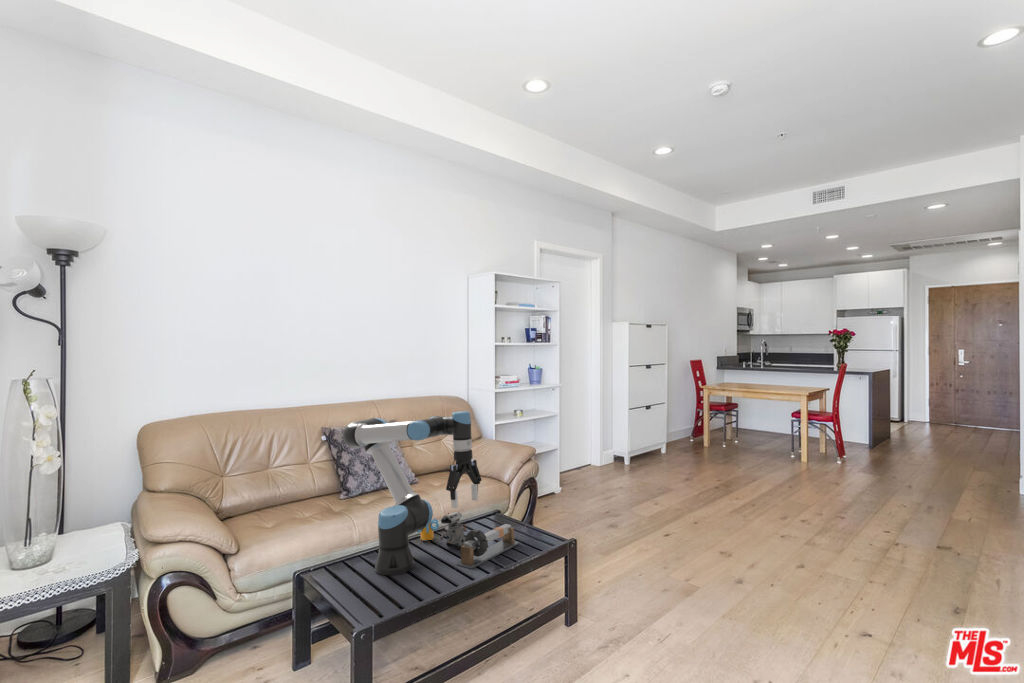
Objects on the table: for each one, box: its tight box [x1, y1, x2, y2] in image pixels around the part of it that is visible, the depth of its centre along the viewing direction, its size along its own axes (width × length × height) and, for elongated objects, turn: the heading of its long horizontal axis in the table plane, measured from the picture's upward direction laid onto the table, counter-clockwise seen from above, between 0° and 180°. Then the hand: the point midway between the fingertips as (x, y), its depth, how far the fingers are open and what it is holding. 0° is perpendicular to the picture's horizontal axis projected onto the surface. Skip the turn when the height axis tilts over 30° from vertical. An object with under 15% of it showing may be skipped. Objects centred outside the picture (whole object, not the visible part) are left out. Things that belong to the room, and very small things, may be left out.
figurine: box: [440, 511, 467, 550], centre depth 228 cm, size 9×12×15 cm
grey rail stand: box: [456, 523, 519, 569], centre depth 219 cm, size 32×8×9 cm, turn 144°
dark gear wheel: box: [465, 528, 489, 557], centre depth 212 cm, size 2×10×10 cm, turn 54°
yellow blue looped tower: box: [416, 518, 440, 540], centre depth 241 cm, size 12×10×15 cm
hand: (465, 503), depth 209 cm, fingers open, 12 cm apart
